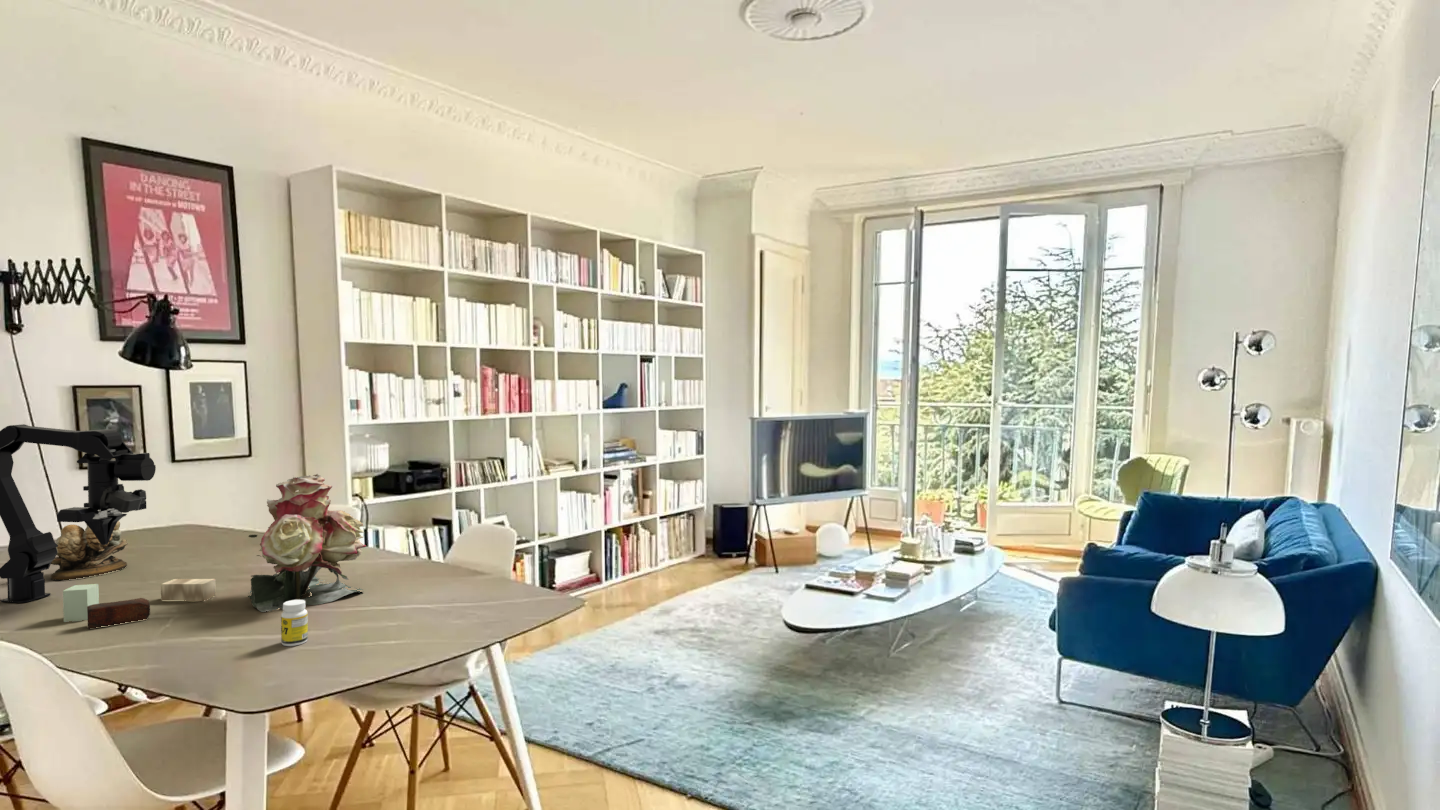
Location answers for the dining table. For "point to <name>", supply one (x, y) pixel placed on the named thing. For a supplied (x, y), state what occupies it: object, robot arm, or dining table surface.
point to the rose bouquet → (304, 546)
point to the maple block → (188, 589)
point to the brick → (117, 612)
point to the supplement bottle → (294, 623)
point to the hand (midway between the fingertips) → (104, 544)
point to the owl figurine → (86, 553)
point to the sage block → (79, 601)
